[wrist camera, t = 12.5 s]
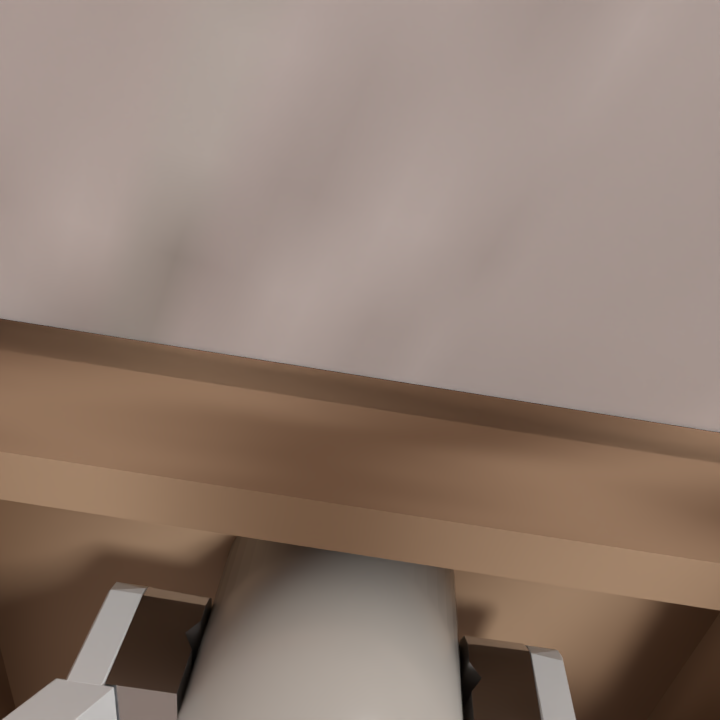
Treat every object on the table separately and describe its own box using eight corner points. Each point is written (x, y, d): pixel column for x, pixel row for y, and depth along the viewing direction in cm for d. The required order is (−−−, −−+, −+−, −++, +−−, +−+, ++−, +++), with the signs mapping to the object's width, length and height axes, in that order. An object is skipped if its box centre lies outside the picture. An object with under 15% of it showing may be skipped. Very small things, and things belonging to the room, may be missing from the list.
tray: (835, 451, 10) (963, 601, 8) (566, 840, 17) (591, 980, 15) (-96, 303, 10) (-255, 411, 8) (22, 759, 17) (-41, 888, 15)
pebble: (479, 518, 10) (510, 790, 7) (430, 666, 12) (435, 930, 9) (230, 479, 10) (139, 736, 7) (223, 634, 12) (151, 889, 9)
